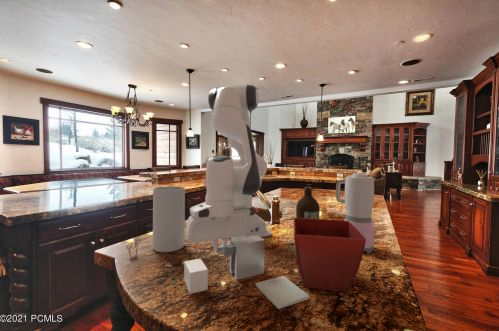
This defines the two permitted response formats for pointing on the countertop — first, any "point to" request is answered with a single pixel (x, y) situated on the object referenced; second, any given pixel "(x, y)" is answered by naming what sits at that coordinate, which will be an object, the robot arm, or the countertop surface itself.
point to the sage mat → (282, 291)
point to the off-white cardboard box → (195, 276)
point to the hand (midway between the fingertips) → (219, 252)
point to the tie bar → (229, 250)
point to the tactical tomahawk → (292, 248)
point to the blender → (359, 205)
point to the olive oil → (307, 206)
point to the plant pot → (328, 253)
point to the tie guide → (247, 257)
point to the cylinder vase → (168, 218)
